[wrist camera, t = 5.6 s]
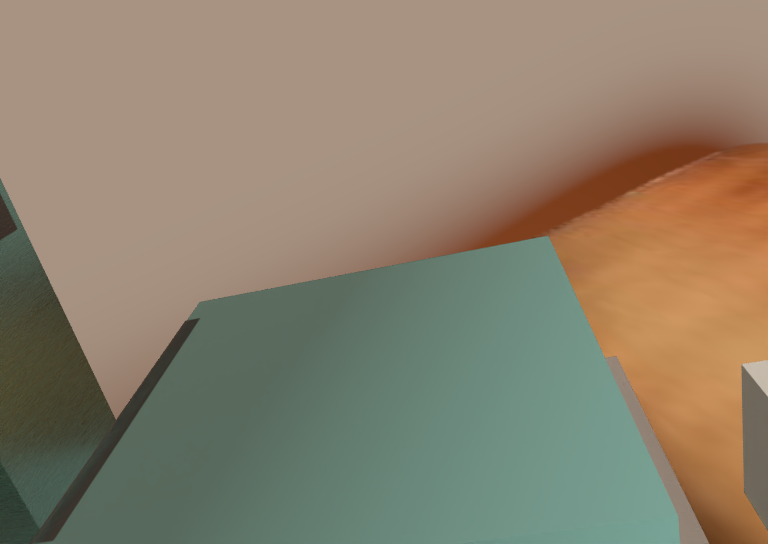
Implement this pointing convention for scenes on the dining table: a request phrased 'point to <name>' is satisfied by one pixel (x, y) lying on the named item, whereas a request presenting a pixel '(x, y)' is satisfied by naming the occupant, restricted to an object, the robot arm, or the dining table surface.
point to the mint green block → (379, 419)
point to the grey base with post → (90, 408)
